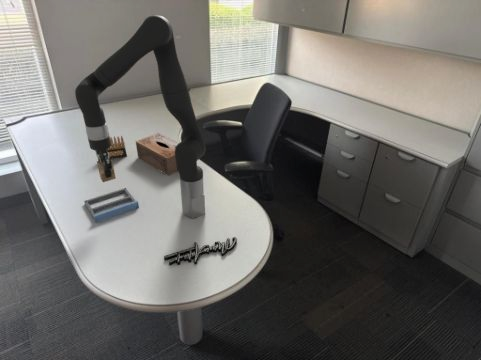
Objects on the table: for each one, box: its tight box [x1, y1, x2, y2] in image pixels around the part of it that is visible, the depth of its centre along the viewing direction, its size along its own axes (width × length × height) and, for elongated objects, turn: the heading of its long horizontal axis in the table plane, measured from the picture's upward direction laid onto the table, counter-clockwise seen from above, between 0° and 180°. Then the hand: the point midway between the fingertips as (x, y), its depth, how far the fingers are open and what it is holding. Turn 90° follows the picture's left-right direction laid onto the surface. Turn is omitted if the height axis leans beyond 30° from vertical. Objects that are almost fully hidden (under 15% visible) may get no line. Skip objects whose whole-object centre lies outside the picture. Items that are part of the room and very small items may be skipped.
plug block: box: [96, 159, 117, 183], centre depth 132 cm, size 3×5×8 cm, turn 126°
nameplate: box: [163, 236, 237, 266], centre depth 123 cm, size 27×2×10 cm
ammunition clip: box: [107, 135, 128, 160], centre depth 176 cm, size 11×2×12 cm, turn 111°
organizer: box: [84, 187, 140, 223], centre depth 144 cm, size 15×18×3 cm
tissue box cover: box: [135, 132, 180, 176], centre depth 175 cm, size 26×14×10 cm, turn 49°
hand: (107, 174), depth 134 cm, fingers closed on plug block, 3 cm apart
